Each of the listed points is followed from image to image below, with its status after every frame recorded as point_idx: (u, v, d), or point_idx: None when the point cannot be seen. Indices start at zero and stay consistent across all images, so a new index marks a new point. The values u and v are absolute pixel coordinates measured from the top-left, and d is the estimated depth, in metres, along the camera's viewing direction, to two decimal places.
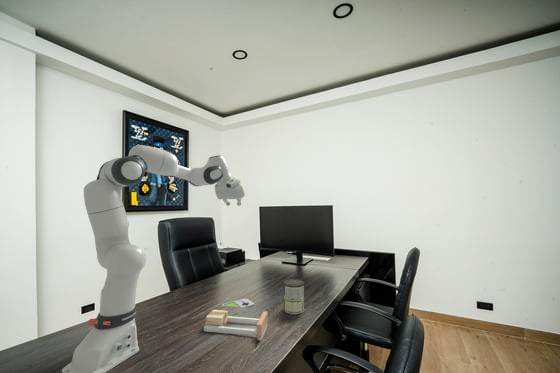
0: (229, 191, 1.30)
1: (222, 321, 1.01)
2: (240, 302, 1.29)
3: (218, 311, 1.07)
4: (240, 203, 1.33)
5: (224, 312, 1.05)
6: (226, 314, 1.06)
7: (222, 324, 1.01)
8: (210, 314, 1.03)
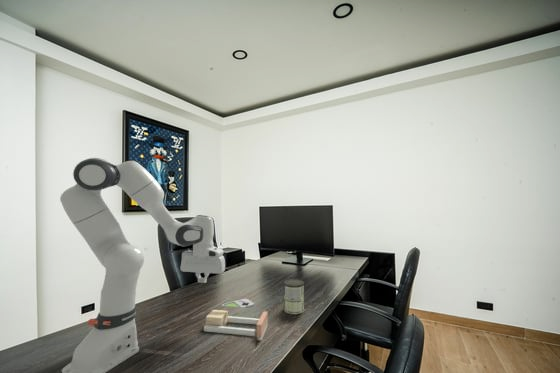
0: (206, 262, 1.05)
1: (222, 321, 1.01)
2: (240, 302, 1.29)
3: (218, 311, 1.07)
4: (206, 280, 1.07)
5: (224, 312, 1.05)
6: (226, 314, 1.06)
7: (222, 324, 1.01)
8: (210, 314, 1.03)
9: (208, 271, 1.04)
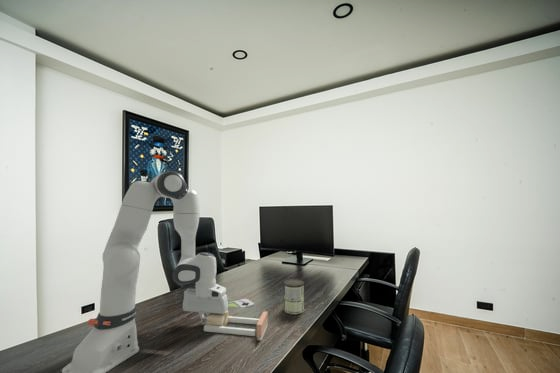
0: (209, 301, 1.04)
1: (222, 321, 1.01)
2: (240, 302, 1.29)
3: None
4: None
5: (225, 312, 1.05)
6: (227, 314, 1.05)
7: (223, 324, 1.01)
8: (211, 314, 1.03)
9: (211, 311, 1.03)
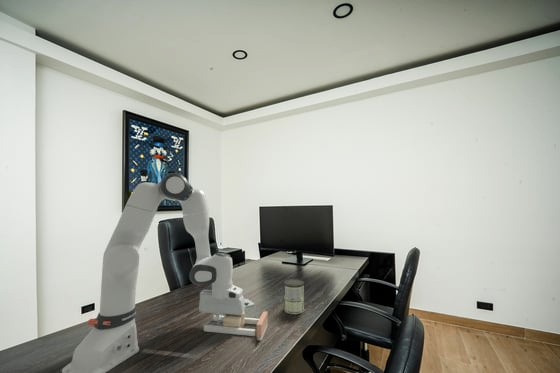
0: (226, 302, 1.02)
1: (240, 323, 0.99)
2: None
3: None
4: None
5: None
6: (243, 315, 1.04)
7: (240, 326, 1.00)
8: (227, 315, 1.02)
9: (228, 312, 1.02)
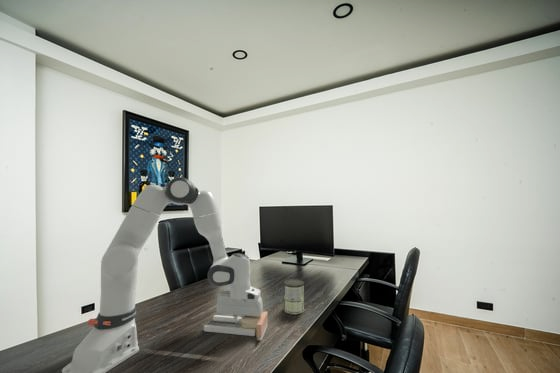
0: (244, 304, 1.01)
1: None
2: None
3: None
4: None
5: None
6: None
7: None
8: (245, 317, 1.01)
9: (246, 314, 1.00)
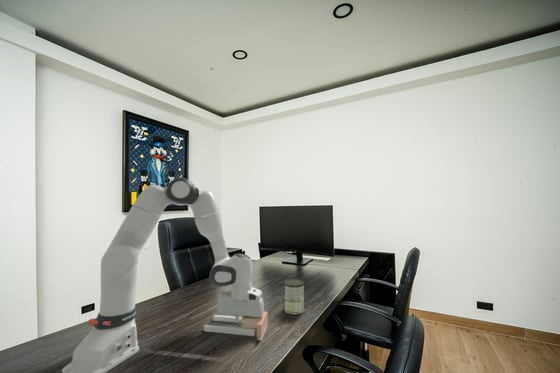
0: (245, 304, 1.01)
1: None
2: None
3: None
4: None
5: None
6: None
7: None
8: (245, 317, 1.01)
9: (247, 314, 1.00)
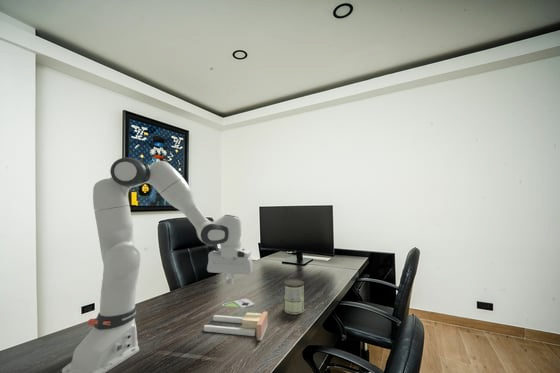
0: (234, 262, 1.03)
1: None
2: (240, 302, 1.29)
3: (253, 314, 1.04)
4: (232, 281, 1.04)
5: (259, 315, 1.03)
6: None
7: None
8: (245, 317, 1.01)
9: (236, 272, 1.02)
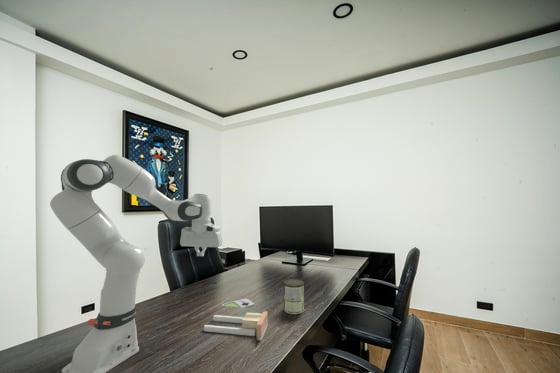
0: (204, 236, 1.14)
1: None
2: (240, 302, 1.29)
3: (253, 314, 1.04)
4: (203, 254, 1.15)
5: (259, 315, 1.03)
6: None
7: None
8: (245, 317, 1.01)
9: (206, 245, 1.13)
